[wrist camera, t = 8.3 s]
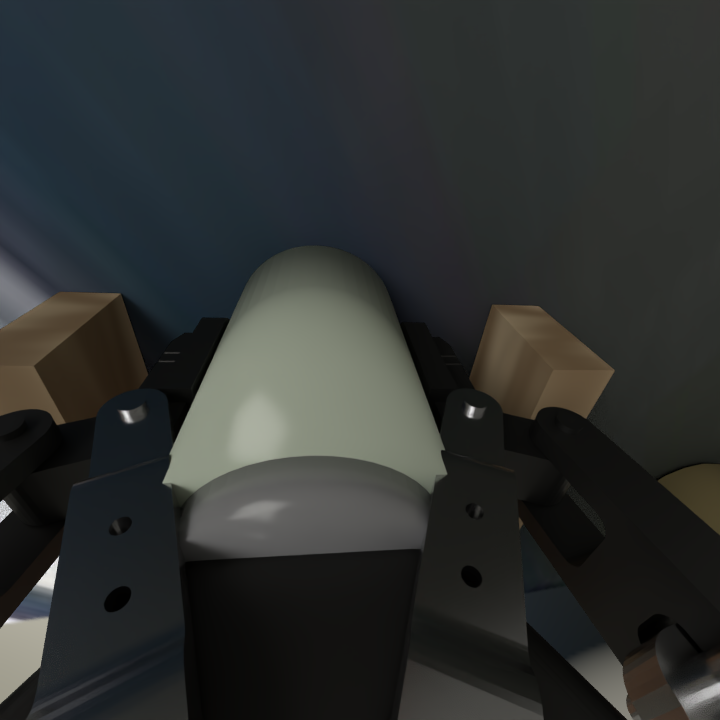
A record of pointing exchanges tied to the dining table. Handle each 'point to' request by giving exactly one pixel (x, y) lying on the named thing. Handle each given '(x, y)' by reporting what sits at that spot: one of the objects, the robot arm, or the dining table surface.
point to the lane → (128, 371)
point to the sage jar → (307, 421)
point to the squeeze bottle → (698, 491)
